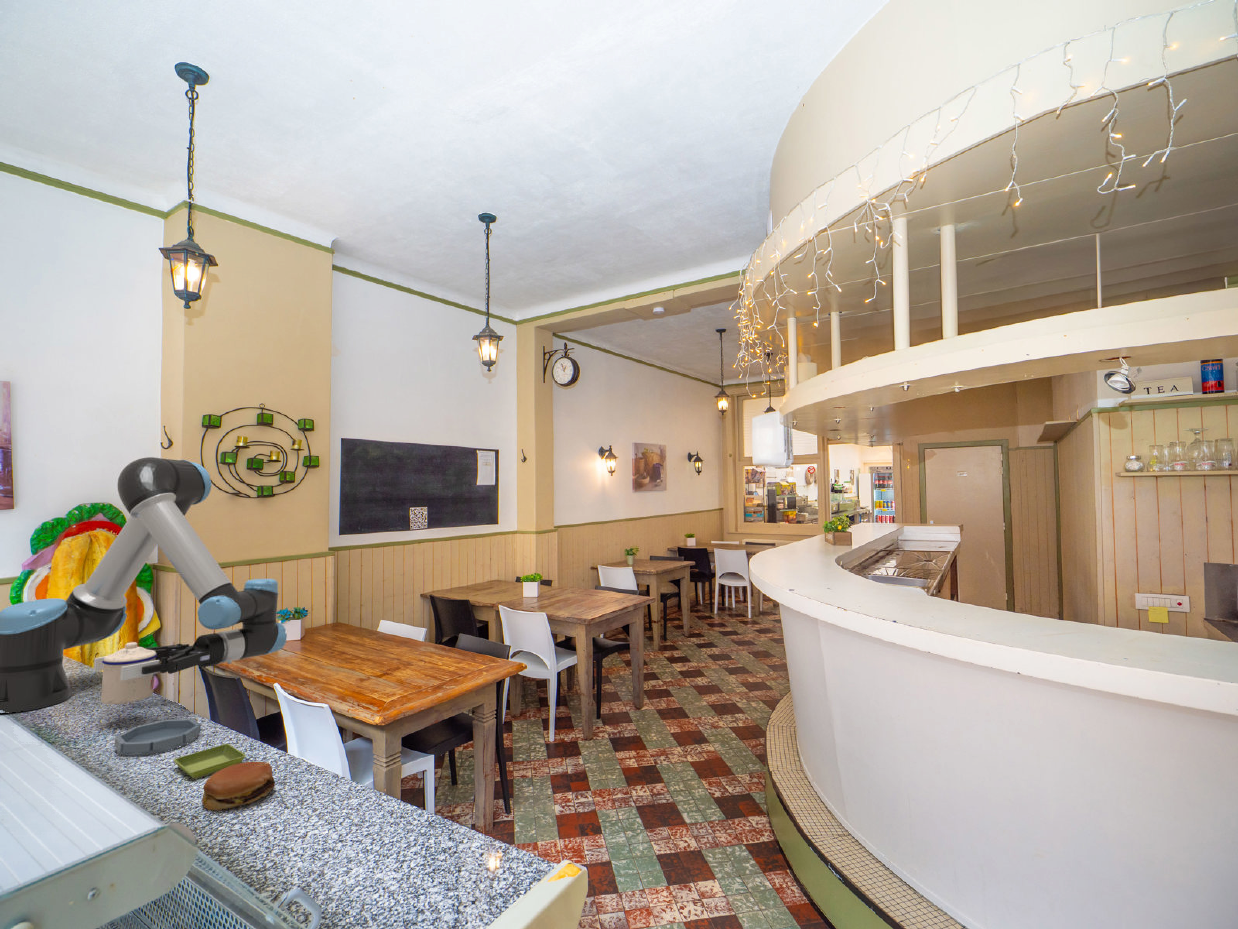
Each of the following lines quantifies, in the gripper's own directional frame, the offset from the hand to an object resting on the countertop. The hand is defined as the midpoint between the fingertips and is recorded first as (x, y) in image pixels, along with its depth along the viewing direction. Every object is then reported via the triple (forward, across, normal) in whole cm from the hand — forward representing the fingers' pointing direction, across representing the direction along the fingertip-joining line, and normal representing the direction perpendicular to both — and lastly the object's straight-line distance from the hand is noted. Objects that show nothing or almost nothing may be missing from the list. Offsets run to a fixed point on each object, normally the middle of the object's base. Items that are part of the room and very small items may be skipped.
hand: (107, 669), depth 125 cm
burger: (+3, -56, -12) cm, 57 cm away
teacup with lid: (-3, 0, -7) cm, 8 cm away
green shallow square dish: (-1, -40, -12) cm, 42 cm away
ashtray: (-2, -20, -12) cm, 23 cm away
